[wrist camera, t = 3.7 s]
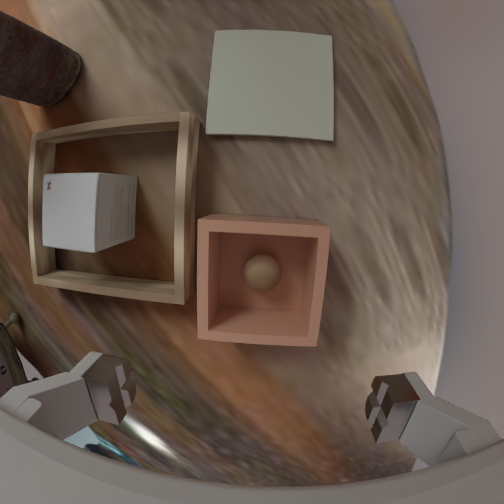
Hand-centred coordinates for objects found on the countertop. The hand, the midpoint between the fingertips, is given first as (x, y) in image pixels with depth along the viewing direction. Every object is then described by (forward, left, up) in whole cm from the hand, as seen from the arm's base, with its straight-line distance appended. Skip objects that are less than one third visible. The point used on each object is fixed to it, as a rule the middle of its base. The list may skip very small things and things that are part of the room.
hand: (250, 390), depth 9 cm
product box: (-5, -15, -18) cm, 24 cm away
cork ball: (0, 0, -16) cm, 16 cm away
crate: (-5, -15, -18) cm, 24 cm away
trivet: (-17, 0, -18) cm, 24 cm away
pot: (0, 0, -18) cm, 18 cm away
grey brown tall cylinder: (-20, -24, -18) cm, 36 cm away
